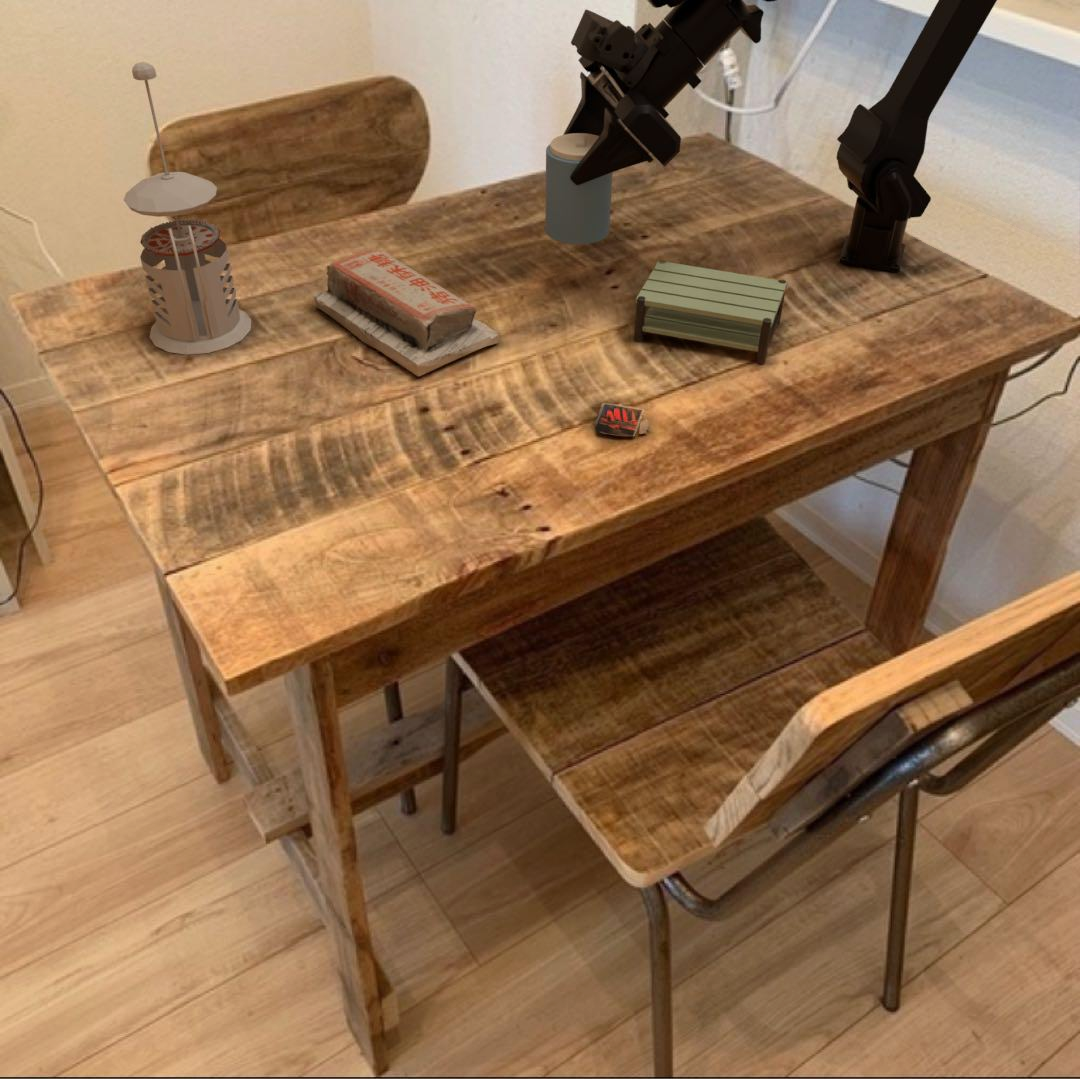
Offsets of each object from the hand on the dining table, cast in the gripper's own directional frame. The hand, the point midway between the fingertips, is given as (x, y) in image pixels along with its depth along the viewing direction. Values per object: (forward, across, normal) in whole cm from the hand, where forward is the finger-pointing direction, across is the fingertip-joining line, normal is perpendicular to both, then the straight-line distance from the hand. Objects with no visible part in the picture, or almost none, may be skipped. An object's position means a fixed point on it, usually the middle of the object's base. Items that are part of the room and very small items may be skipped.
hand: (565, 167), depth 105 cm
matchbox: (+9, +27, +8) cm, 30 cm away
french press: (+35, +4, -17) cm, 39 cm away
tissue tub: (+4, 0, +6) cm, 7 cm away
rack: (0, +13, +17) cm, 21 cm away
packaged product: (+21, +6, -4) cm, 22 cm away
